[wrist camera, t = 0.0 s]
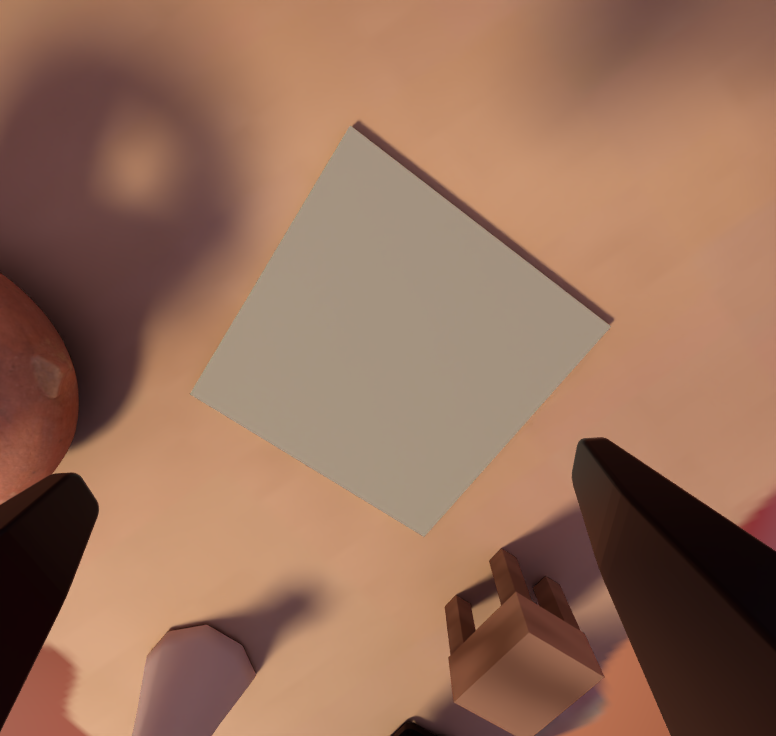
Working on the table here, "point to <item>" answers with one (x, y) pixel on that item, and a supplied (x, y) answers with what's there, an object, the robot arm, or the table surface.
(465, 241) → the sage mat
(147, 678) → the flask
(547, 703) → the walnut stool
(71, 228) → the table surface
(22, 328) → the ceramic jug
